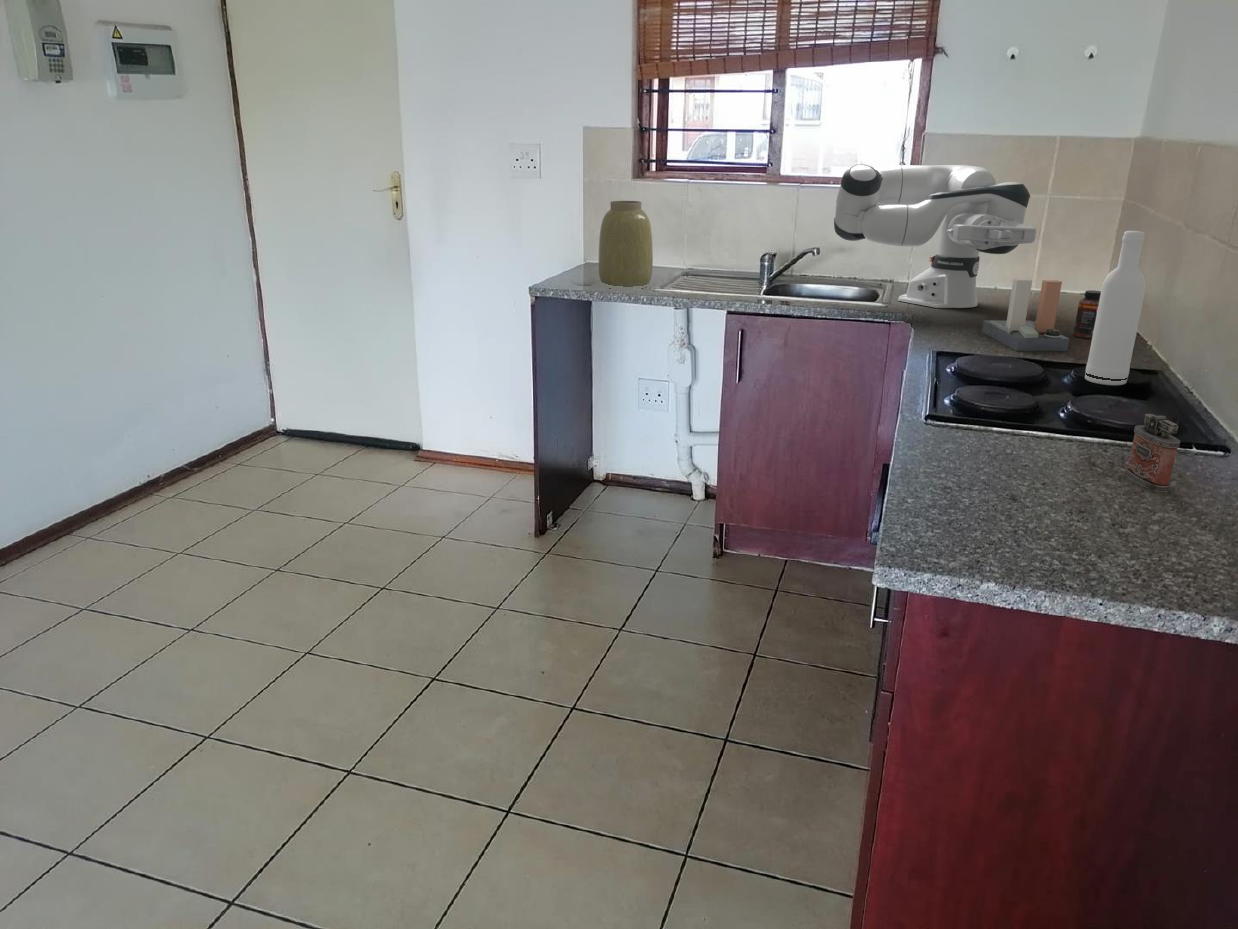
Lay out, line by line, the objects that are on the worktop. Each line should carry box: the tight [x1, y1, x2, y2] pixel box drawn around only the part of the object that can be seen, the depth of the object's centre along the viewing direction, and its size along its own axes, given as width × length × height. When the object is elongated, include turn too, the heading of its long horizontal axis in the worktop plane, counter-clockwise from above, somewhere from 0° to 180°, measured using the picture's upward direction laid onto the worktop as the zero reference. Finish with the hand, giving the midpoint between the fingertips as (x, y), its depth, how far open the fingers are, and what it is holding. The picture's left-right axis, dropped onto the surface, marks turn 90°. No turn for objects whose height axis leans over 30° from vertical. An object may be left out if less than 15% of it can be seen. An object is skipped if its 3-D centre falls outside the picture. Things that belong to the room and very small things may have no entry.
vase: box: [598, 200, 654, 289], centre depth 286 cm, size 17×17×27 cm
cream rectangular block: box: [1006, 278, 1033, 331], centre depth 217 cm, size 2×4×12 cm
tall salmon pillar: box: [1035, 279, 1063, 332], centre depth 215 cm, size 2×4×12 cm
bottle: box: [1084, 230, 1147, 386], centre depth 182 cm, size 8×8×30 cm
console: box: [981, 319, 1070, 352], centre depth 221 cm, size 21×12×4 cm, turn 0°
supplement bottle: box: [1073, 289, 1101, 339], centre depth 225 cm, size 6×6×11 cm
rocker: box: [1018, 327, 1039, 338], centre depth 212 cm, size 4×3×1 cm
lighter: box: [1124, 413, 1181, 493], centre depth 132 cm, size 8×3×10 cm, turn 5°
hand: (1006, 235), depth 223 cm, fingers closed
